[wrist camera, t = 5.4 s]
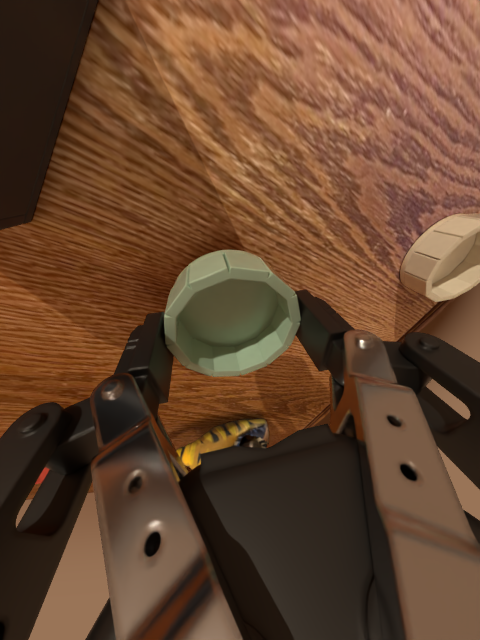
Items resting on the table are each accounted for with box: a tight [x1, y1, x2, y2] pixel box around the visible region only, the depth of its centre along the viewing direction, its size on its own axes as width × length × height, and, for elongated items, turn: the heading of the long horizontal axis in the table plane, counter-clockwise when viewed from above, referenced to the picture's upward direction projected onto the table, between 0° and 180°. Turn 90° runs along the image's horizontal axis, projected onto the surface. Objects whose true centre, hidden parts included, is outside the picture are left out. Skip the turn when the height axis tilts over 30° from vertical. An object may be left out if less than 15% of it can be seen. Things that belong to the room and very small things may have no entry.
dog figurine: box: [176, 418, 269, 469], centre depth 27 cm, size 20×12×18 cm
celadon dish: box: [164, 250, 301, 377], centre depth 10 cm, size 6×6×2 cm
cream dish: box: [400, 213, 480, 302], centre depth 16 cm, size 6×6×2 cm
